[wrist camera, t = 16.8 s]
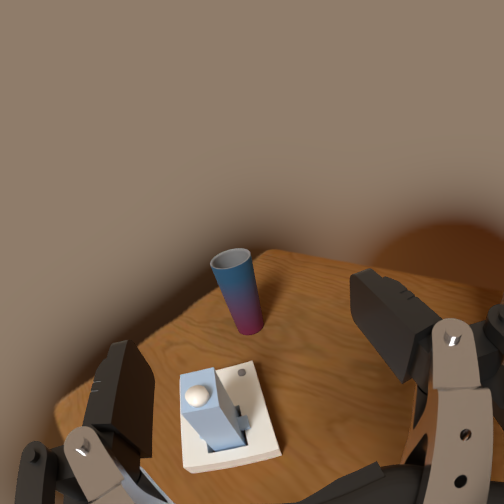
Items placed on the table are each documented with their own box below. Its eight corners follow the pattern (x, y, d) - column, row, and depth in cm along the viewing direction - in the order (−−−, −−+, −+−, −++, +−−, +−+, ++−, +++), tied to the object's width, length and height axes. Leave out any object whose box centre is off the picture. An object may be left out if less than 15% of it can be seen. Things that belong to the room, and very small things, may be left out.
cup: (236, 316, 55) (215, 251, 49) (269, 313, 54) (252, 245, 47) (230, 339, 49) (205, 271, 43) (266, 337, 48) (247, 265, 41)
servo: (205, 425, 33) (167, 372, 27) (249, 415, 33) (222, 359, 28) (209, 456, 28) (165, 411, 23) (257, 446, 29) (229, 398, 23)
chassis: (185, 387, 40) (178, 377, 39) (255, 370, 41) (251, 359, 40) (191, 473, 26) (182, 466, 24) (281, 455, 27) (278, 447, 25)
